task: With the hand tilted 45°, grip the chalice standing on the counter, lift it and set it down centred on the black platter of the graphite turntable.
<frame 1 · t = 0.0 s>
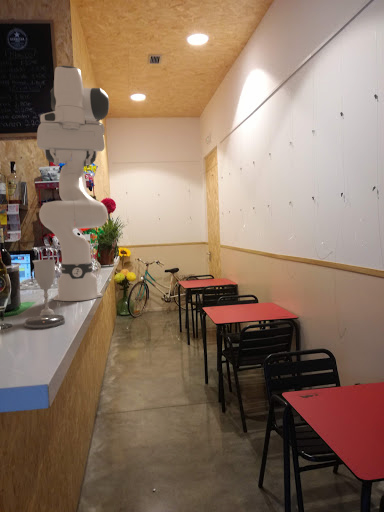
hand: (72, 164, 120), 48 cm above the table, tool pointing down, fingers open, 8 cm apart
chalice: (47, 317, 121), on the table
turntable: (45, 323, 111), on the table
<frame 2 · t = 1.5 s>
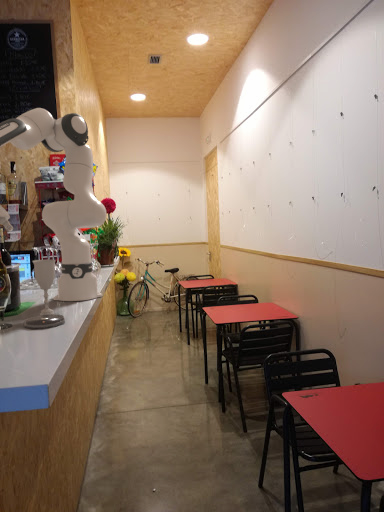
hand: (4, 229, 119), 28 cm above the table, tool tilted 45°, fingers open, 8 cm apart
nothing on the table moved.
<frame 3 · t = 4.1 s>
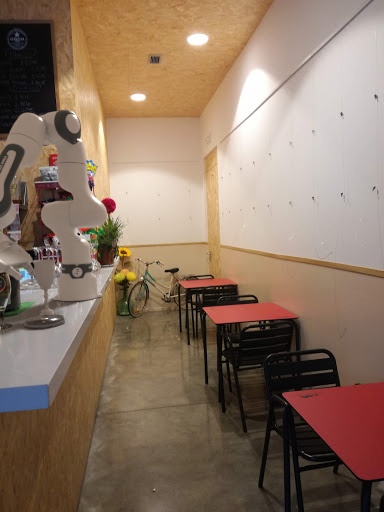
hand: (28, 276, 120), 13 cm above the table, tool tilted 45°, fingers open, 8 cm apart
nothing on the table moved.
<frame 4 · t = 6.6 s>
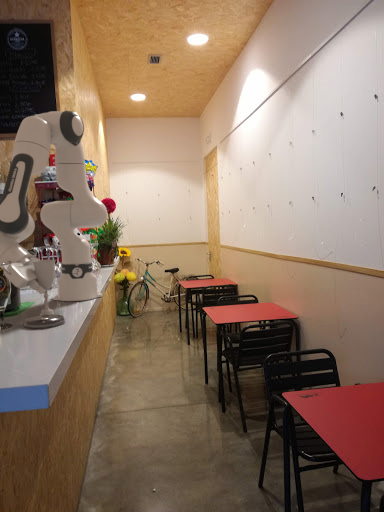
hand: (47, 290, 120), 8 cm above the table, tool tilted 45°, fingers closed on chalice, 5 cm apart
chalice: (47, 317, 121), on the table, touching gripper
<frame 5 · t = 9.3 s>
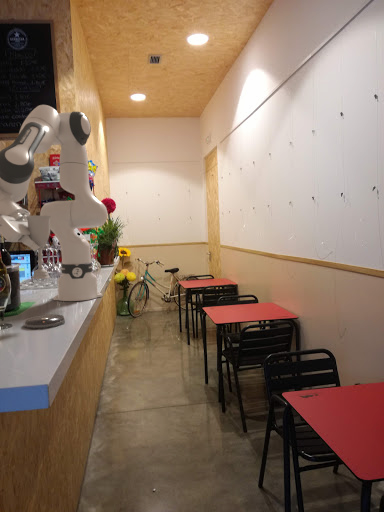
hand: (42, 248, 111), 22 cm above the table, tool tilted 45°, fingers closed on chalice, 5 cm apart
chalice: (41, 278, 111), point 13 cm above the table, touching gripper
when the fingers open (11 cm above the table, at t = 12.3 s): chalice stays where it is, resting on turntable.
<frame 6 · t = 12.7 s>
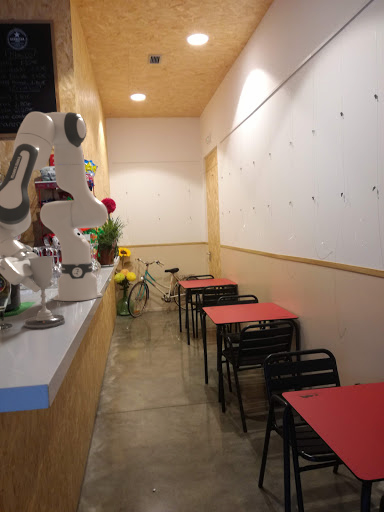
hand: (45, 287, 111), 11 cm above the table, tool tilted 45°, fingers open, 8 cm apart
chalice: (44, 319, 111), point 1 cm above the table, touching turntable
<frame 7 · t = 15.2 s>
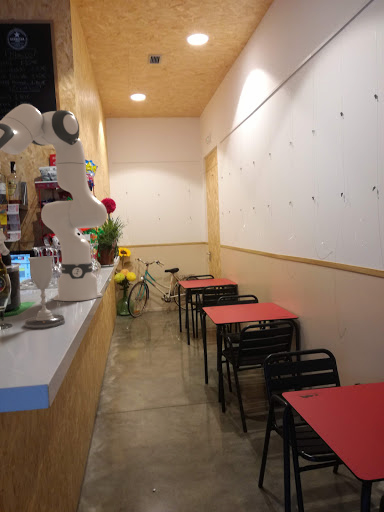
nothing on the table moved.
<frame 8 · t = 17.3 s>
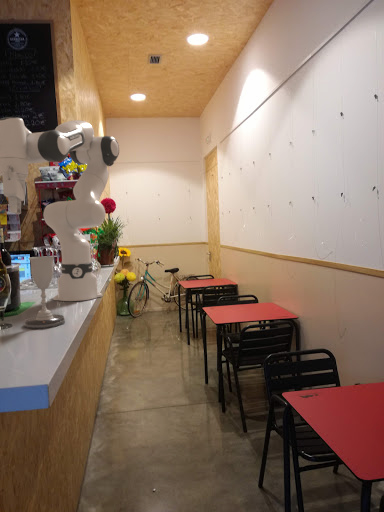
hand: (15, 213, 121), 33 cm above the table, tool pointing down, fingers open, 8 cm apart
nothing on the table moved.
at the end: chalice 0.1 cm off-centre on the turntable, point 1.4 cm above the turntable's base; chalice tilted 1°; the gripper is holding nothing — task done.
